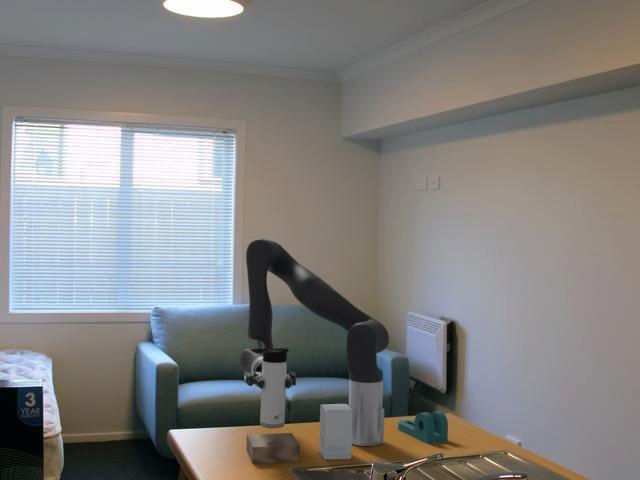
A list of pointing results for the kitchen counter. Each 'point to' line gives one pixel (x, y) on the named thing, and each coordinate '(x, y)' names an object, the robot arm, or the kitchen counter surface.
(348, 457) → the supplement box
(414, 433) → the bracket
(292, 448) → the walnut plinth
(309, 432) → the kitchen counter surface
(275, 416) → the travel mug
